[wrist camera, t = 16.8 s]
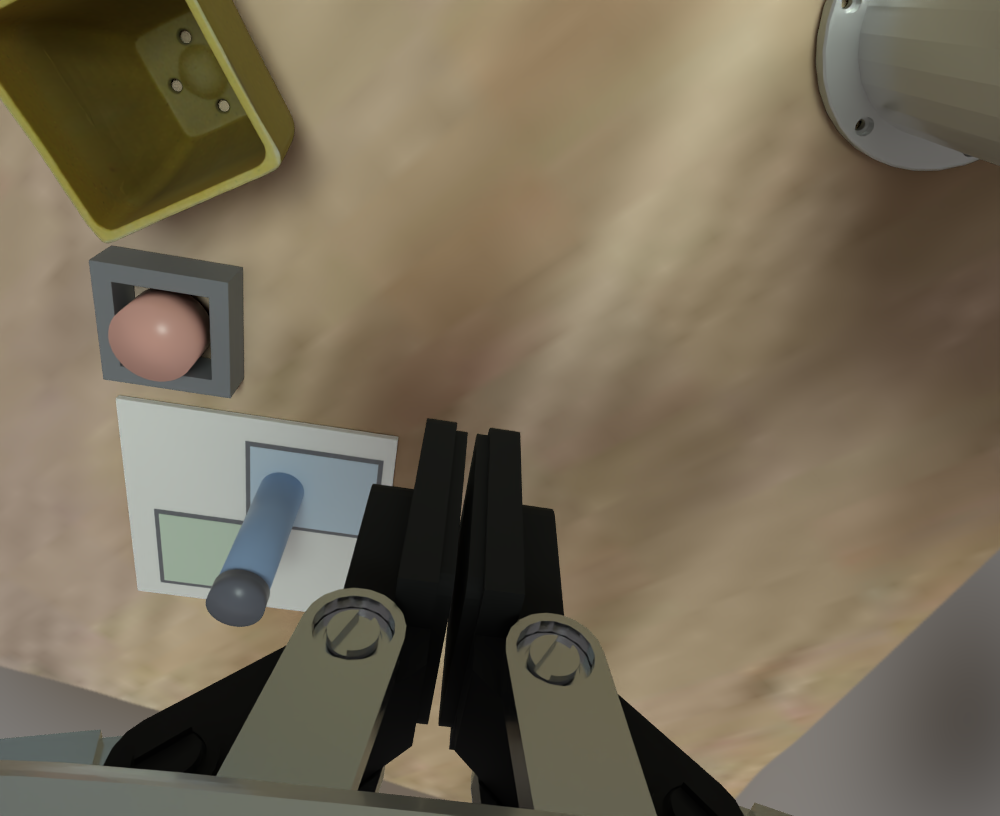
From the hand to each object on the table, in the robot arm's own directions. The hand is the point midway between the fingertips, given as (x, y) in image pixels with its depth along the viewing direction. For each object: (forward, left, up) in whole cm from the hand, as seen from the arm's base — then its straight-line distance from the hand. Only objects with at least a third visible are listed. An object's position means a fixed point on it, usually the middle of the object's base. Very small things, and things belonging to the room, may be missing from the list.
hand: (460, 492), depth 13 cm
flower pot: (+14, -2, -27) cm, 31 cm away
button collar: (+16, +11, -27) cm, 33 cm away
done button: (+16, +11, -26) cm, 32 cm away
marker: (+10, +22, -26) cm, 36 cm away
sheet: (+12, +25, -27) cm, 39 cm away
